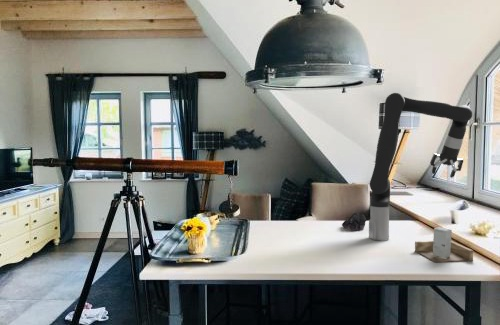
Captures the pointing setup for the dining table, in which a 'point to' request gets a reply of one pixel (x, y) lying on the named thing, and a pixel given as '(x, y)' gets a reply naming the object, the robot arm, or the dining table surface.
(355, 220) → the black rock
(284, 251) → the dining table surface
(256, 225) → the dining table surface
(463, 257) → the open cardboard box
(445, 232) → the skincare box
